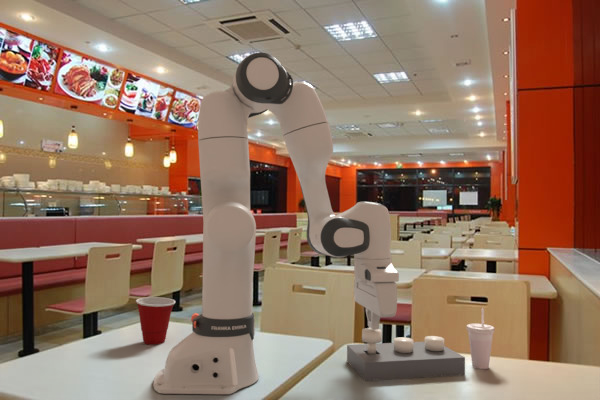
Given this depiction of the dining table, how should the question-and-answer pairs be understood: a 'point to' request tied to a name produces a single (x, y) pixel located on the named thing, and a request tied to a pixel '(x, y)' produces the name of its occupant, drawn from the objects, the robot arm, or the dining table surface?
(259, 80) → the robot arm
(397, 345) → the knob middle
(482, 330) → the smoothie
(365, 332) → the knob
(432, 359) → the console
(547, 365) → the dining table surface
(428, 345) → the knob
